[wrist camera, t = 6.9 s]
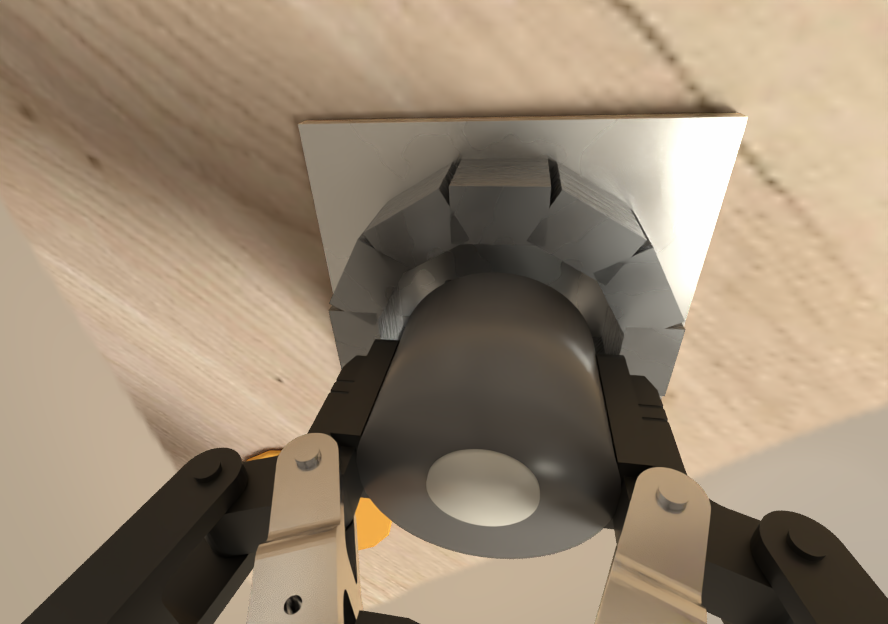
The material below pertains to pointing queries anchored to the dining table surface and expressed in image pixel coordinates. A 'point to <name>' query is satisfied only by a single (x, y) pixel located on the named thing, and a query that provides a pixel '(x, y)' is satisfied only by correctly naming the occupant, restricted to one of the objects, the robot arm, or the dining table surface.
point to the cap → (493, 423)
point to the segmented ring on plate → (523, 217)
